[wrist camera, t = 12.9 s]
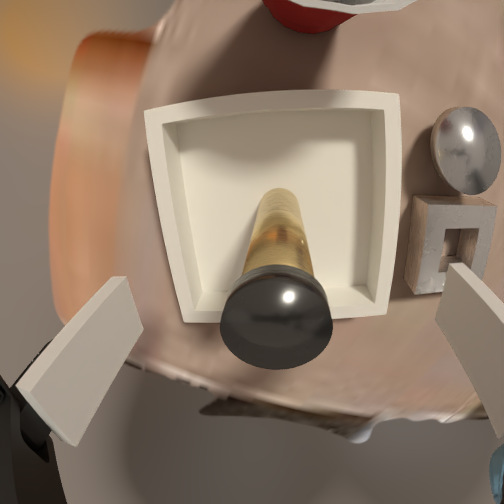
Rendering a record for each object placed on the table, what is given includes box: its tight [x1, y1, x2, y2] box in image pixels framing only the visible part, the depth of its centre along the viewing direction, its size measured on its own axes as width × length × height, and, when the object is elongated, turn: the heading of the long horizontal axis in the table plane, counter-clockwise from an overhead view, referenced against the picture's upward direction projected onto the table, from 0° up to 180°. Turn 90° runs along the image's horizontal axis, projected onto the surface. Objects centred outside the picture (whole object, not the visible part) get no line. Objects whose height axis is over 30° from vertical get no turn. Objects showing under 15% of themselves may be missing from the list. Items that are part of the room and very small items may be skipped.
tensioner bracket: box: [403, 107, 501, 295], centre depth 19 cm, size 16×8×4 cm, turn 5°
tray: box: [144, 90, 402, 323], centre depth 21 cm, size 17×17×4 cm
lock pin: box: [220, 188, 333, 370], centre depth 15 cm, size 4×4×14 cm
